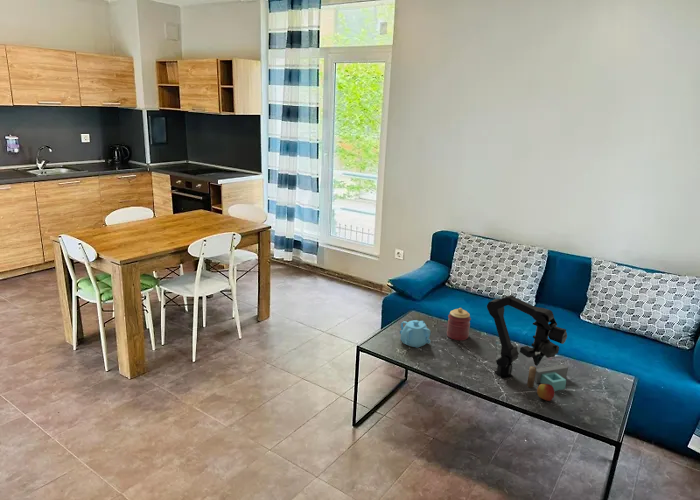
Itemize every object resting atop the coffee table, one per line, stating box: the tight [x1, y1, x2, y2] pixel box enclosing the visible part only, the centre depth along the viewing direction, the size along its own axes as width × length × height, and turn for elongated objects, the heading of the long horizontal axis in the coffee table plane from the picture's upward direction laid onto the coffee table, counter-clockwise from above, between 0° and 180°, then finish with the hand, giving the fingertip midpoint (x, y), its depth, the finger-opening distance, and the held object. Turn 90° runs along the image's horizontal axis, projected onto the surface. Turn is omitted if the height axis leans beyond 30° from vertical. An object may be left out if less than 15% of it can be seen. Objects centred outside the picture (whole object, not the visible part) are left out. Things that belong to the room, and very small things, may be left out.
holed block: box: [539, 372, 567, 392], centre depth 240 cm, size 8×8×5 cm
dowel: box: [526, 365, 537, 389], centre depth 238 cm, size 3×3×10 cm
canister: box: [446, 307, 472, 341], centre depth 287 cm, size 13×13×18 cm
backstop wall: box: [534, 364, 569, 384], centre depth 245 cm, size 18×3×6 cm, turn 109°
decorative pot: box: [399, 319, 432, 349], centre depth 277 cm, size 16×16×14 cm
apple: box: [536, 383, 555, 402], centre depth 227 cm, size 8×8×8 cm
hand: (536, 365), depth 235 cm, fingers closed
